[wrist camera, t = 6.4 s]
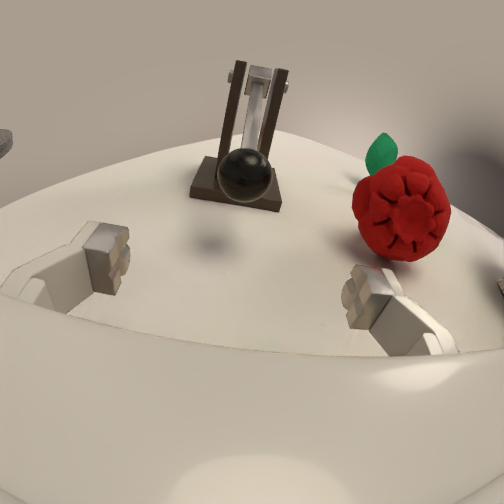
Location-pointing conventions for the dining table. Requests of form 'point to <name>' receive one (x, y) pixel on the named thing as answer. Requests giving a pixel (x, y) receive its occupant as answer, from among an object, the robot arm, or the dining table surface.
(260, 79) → the lever
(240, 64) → the bracket
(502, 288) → the ceramic pitcher
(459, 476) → the robot arm
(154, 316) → the dining table surface
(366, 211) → the decorative flower
